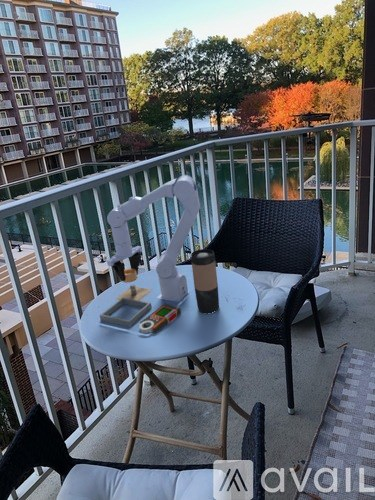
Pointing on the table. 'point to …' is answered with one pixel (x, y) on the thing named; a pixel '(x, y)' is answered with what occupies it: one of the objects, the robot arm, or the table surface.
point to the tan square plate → (134, 293)
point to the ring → (130, 275)
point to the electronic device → (159, 318)
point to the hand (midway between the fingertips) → (129, 276)
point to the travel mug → (205, 280)
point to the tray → (129, 323)
